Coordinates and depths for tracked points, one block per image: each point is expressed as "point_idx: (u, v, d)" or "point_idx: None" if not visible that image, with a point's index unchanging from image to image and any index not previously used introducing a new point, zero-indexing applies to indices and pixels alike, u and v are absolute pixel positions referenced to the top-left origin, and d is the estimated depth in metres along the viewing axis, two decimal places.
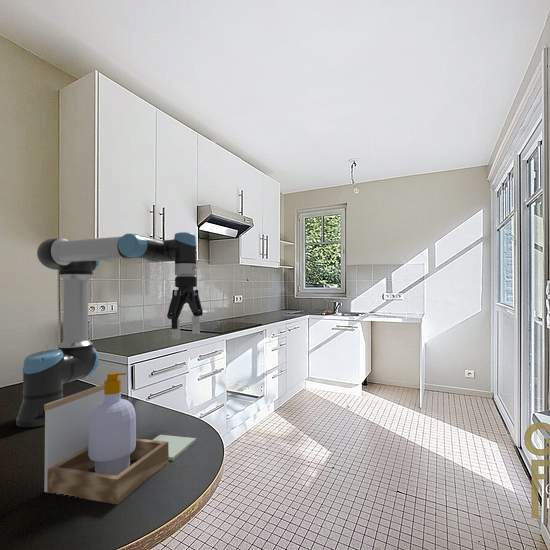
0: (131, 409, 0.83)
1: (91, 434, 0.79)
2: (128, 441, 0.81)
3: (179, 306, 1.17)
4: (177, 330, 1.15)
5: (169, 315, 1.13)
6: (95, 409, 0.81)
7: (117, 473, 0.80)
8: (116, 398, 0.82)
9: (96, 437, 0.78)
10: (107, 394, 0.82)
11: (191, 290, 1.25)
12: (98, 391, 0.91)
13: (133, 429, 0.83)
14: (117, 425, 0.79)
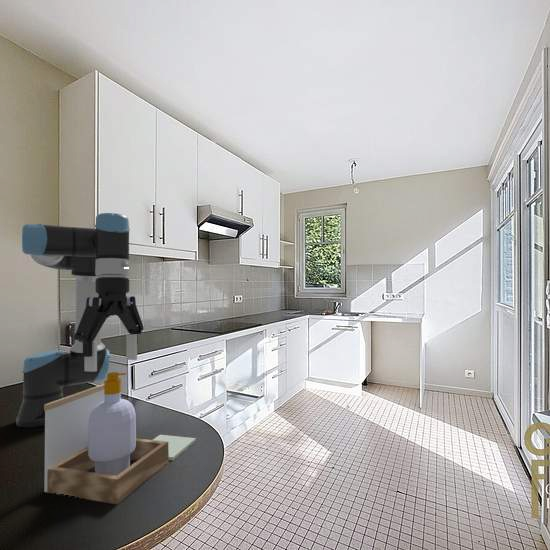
0: (131, 409, 0.83)
1: (91, 434, 0.79)
2: (128, 441, 0.81)
3: (97, 322, 0.79)
4: (92, 358, 0.77)
5: (77, 336, 0.74)
6: (95, 409, 0.81)
7: (117, 473, 0.80)
8: (116, 398, 0.82)
9: (96, 437, 0.78)
10: (107, 394, 0.82)
11: (121, 297, 0.86)
12: (98, 391, 0.91)
13: (133, 429, 0.83)
14: (117, 425, 0.79)
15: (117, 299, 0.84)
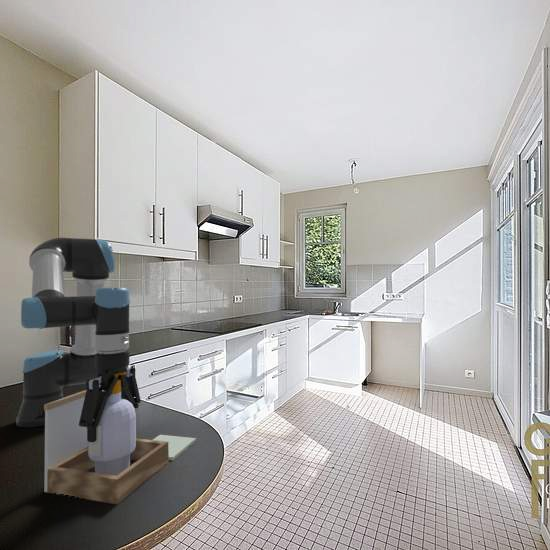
0: (131, 409, 0.83)
1: None
2: (128, 441, 0.81)
3: (99, 404, 0.79)
4: (96, 443, 0.77)
5: (82, 424, 0.75)
6: None
7: (117, 473, 0.80)
8: (116, 398, 0.82)
9: None
10: None
11: (122, 369, 0.85)
12: None
13: (133, 429, 0.83)
14: (117, 425, 0.79)
15: (117, 371, 0.84)
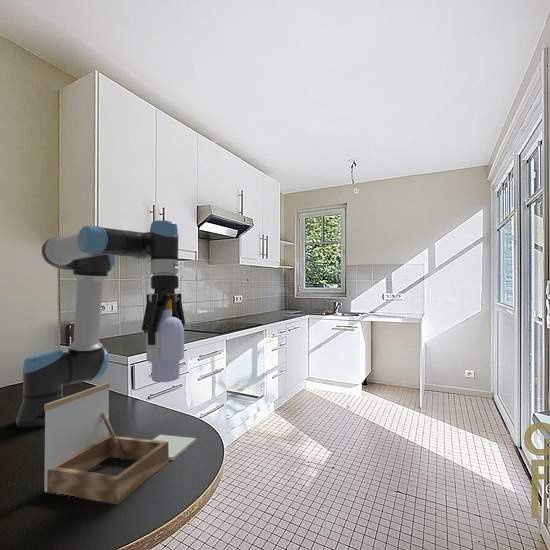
0: (181, 324, 0.98)
1: None
2: (180, 348, 0.96)
3: (157, 315, 0.94)
4: (155, 346, 0.92)
5: (144, 328, 0.90)
6: None
7: (171, 374, 0.95)
8: (169, 313, 0.97)
9: None
10: None
11: (172, 292, 1.00)
12: (98, 391, 0.91)
13: (183, 340, 0.98)
14: (171, 333, 0.94)
15: (169, 292, 0.99)
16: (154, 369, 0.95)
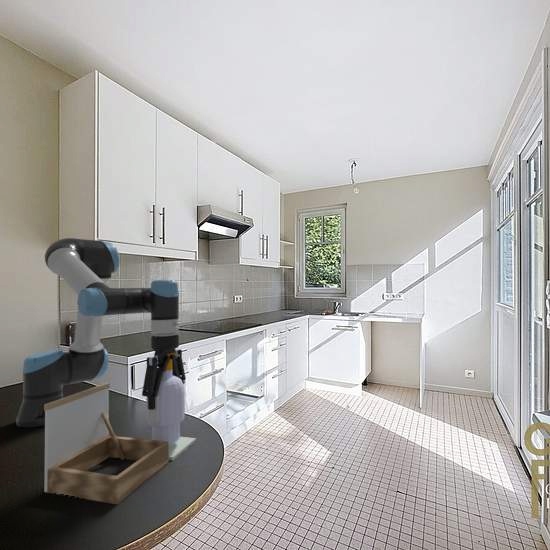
0: (181, 384, 0.98)
1: None
2: (180, 410, 0.95)
3: (157, 378, 0.93)
4: (155, 410, 0.91)
5: (144, 394, 0.89)
6: None
7: (171, 437, 0.94)
8: (169, 374, 0.97)
9: None
10: None
11: (172, 350, 1.00)
12: (98, 391, 0.91)
13: (183, 401, 0.97)
14: (172, 396, 0.93)
15: (169, 352, 0.98)
16: (154, 432, 0.94)
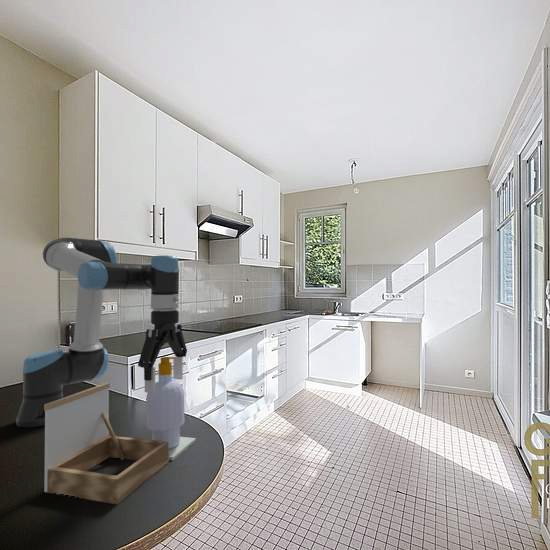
0: (181, 388, 0.98)
1: (150, 408, 0.93)
2: (180, 414, 0.95)
3: (155, 350, 0.93)
4: (151, 382, 0.91)
5: (141, 364, 0.89)
6: None
7: (171, 441, 0.94)
8: (169, 378, 0.97)
9: (154, 410, 0.93)
10: (161, 375, 0.96)
11: (172, 327, 1.00)
12: (98, 391, 0.91)
13: (183, 405, 0.97)
14: (171, 400, 0.94)
15: (169, 329, 0.98)
16: (154, 436, 0.94)
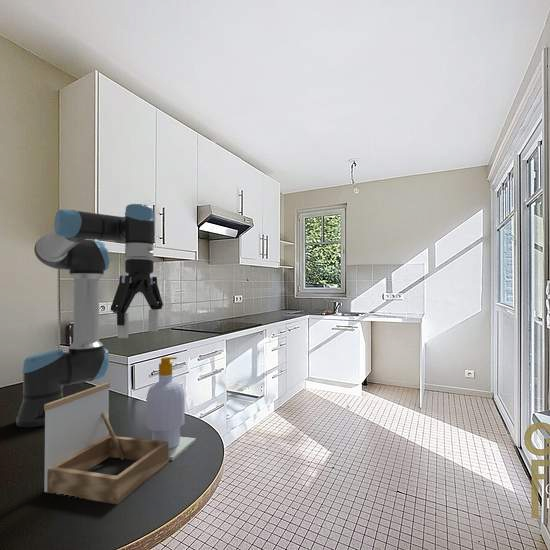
0: (181, 388, 0.98)
1: (150, 408, 0.93)
2: (180, 415, 0.95)
3: (128, 297, 0.93)
4: (124, 327, 0.91)
5: (113, 308, 0.88)
6: (152, 388, 0.95)
7: (171, 441, 0.94)
8: (169, 379, 0.97)
9: (155, 410, 0.92)
10: (162, 375, 0.96)
11: (146, 277, 1.00)
12: (98, 391, 0.91)
13: (183, 405, 0.97)
14: (172, 401, 0.93)
15: (143, 278, 0.98)
16: (154, 436, 0.94)
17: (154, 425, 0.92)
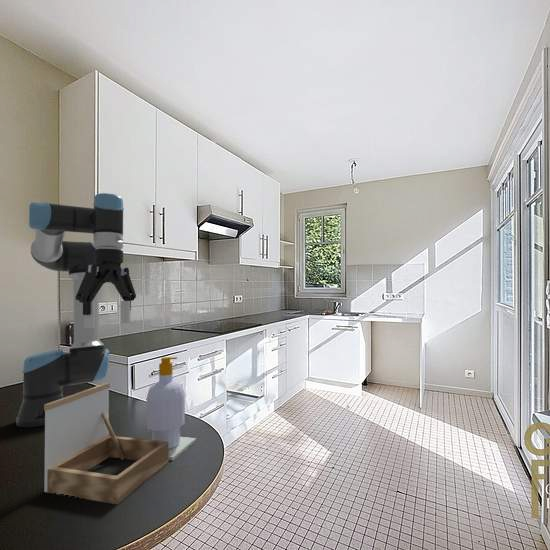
0: (182, 388, 0.98)
1: (150, 408, 0.93)
2: (180, 415, 0.95)
3: (95, 286, 0.92)
4: (91, 316, 0.89)
5: (78, 297, 0.87)
6: (152, 387, 0.95)
7: (171, 441, 0.94)
8: (169, 378, 0.97)
9: (155, 410, 0.92)
10: (162, 375, 0.96)
11: (116, 267, 0.99)
12: (98, 391, 0.91)
13: (183, 405, 0.97)
14: (172, 401, 0.93)
15: (112, 268, 0.97)
16: (154, 436, 0.94)
17: (154, 425, 0.92)
